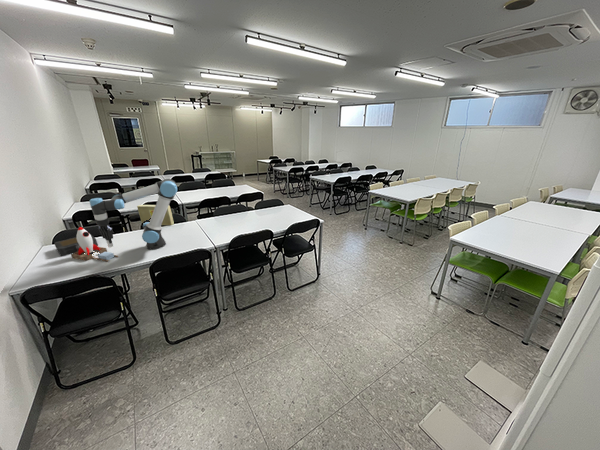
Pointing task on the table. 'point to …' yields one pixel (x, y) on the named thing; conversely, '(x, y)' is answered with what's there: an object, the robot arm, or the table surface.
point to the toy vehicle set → (147, 212)
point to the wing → (106, 255)
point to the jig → (88, 257)
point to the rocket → (85, 242)
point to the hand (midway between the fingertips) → (110, 246)
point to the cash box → (70, 246)
